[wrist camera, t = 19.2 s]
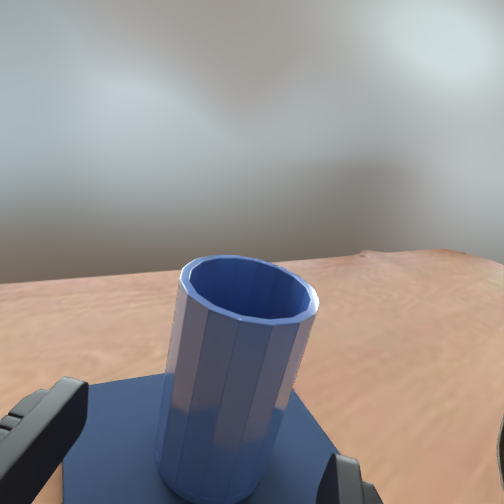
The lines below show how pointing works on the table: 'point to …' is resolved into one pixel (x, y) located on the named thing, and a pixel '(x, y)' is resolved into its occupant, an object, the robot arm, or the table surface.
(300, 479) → the blue mat
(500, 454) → the binoculars
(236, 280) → the blue tumbler
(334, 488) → the robot arm
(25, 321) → the table surface
